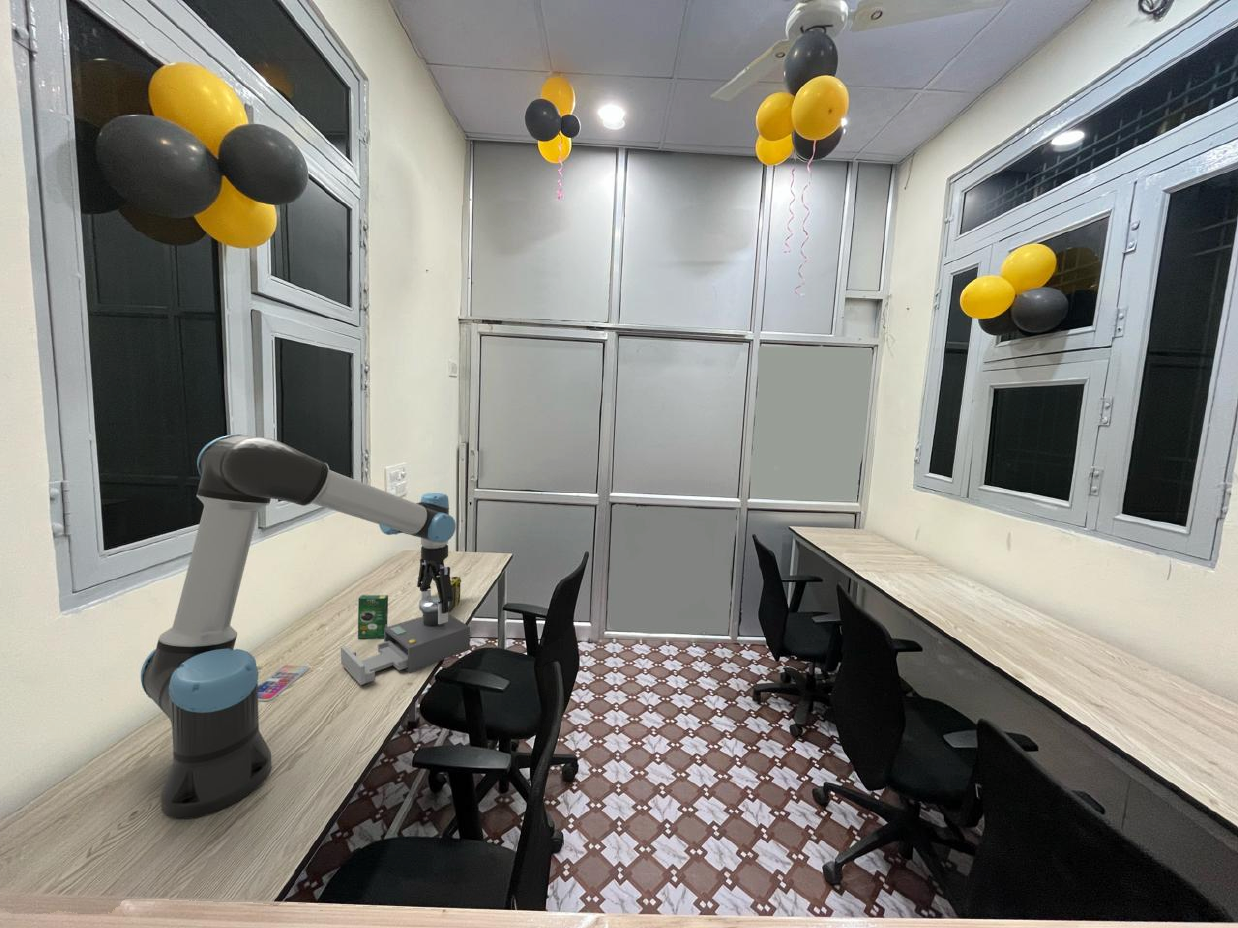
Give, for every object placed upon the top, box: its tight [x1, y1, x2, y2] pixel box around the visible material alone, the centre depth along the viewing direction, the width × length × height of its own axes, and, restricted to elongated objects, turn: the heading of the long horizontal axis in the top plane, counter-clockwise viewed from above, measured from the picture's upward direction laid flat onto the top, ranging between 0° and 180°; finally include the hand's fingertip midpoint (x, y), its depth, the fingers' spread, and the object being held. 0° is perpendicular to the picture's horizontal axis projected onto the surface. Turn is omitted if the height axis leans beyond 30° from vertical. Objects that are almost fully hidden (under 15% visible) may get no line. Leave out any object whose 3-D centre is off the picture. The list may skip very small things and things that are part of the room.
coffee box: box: [357, 594, 389, 640], centre depth 138 cm, size 8×3×13 cm, turn 99°
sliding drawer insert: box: [340, 640, 408, 686], centre depth 123 cm, size 17×14×5 cm
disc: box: [418, 594, 449, 612], centre depth 135 cm, size 8×8×2 cm
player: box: [383, 611, 471, 674], centre depth 132 cm, size 18×16×12 cm
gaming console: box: [434, 576, 462, 614], centre depth 156 cm, size 26×4×10 cm, turn 178°
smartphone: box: [258, 664, 311, 703], centre depth 114 cm, size 7×1×15 cm
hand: (434, 616), depth 135 cm, fingers open, 10 cm apart
